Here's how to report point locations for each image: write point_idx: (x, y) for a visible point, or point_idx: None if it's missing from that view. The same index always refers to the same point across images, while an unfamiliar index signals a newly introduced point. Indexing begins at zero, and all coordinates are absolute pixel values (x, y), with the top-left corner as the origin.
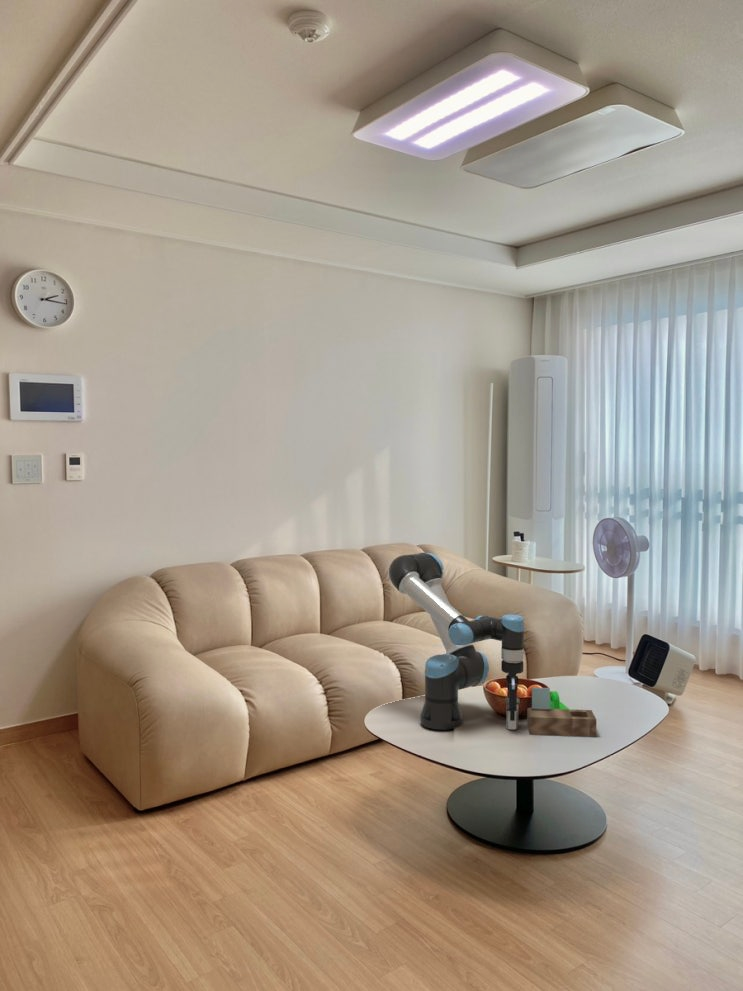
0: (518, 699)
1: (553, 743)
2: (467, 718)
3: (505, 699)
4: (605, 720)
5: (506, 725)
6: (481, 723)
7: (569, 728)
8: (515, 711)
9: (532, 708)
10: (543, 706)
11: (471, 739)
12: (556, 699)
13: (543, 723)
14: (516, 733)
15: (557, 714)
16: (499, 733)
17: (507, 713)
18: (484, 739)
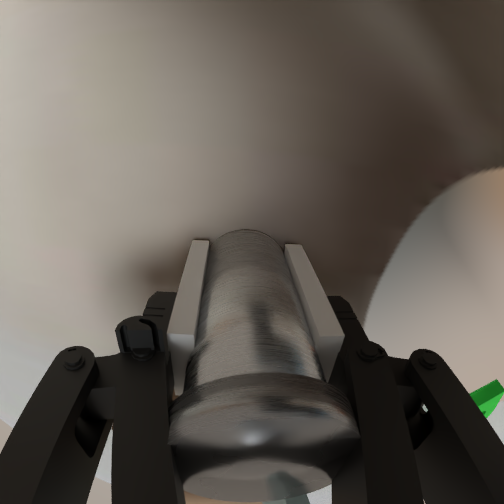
0: (242, 499)
1: None
2: (434, 3)
3: (268, 410)
4: (322, 496)
5: (241, 237)
6: (347, 56)
7: None
8: (173, 385)
9: None
10: (269, 501)
11: (20, 10)
12: None
13: None
14: (141, 283)
15: (206, 502)
16: (121, 170)
17: (219, 299)
18: (16, 80)
